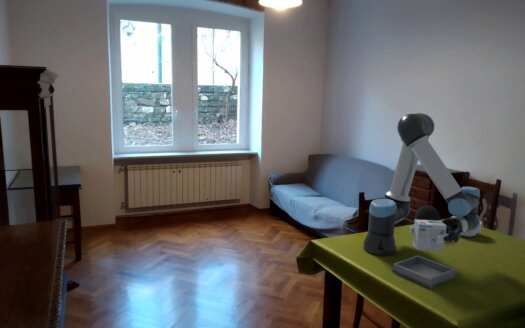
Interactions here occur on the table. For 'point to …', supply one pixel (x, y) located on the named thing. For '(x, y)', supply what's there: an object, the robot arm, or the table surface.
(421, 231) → the light bulb box
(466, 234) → the paper bowls
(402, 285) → the table surface
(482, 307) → the table surface
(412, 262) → the tray
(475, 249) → the table surface
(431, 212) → the decorative egg
